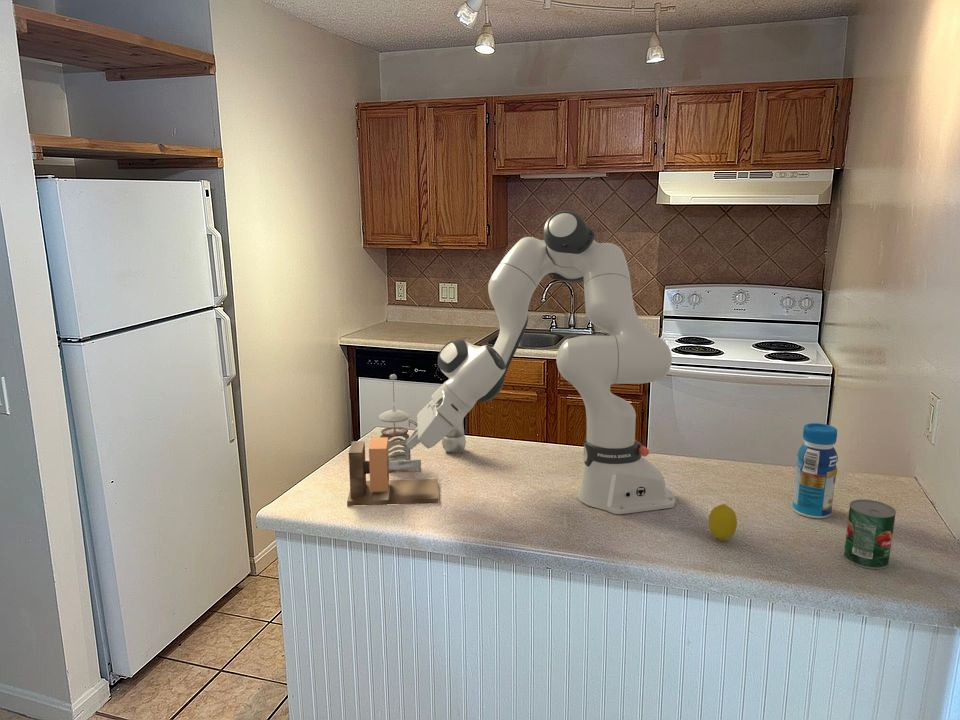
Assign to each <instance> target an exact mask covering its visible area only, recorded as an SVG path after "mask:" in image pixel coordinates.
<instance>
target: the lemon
mask: <svg viewBox="0 0 960 720" xmlns="http://www.w3.org/2000/svg"><path fill="white" fill-rule="evenodd" d="M737 526H738V519H737V514H736V513H735V510H734V509H733V508H732V507H730V506H728V505H727V504H724V503H721V504H720V505H717V506H715V507H713V508H712V510H711V511H710V514H709V517H708V528H709V531H710V533H711V534H712V536H714V537H715V538H717V539H718V540H719V541H725V540H727V539H730V538H731V537H733V536H734V535H735V532H736V530H737Z"/></svg>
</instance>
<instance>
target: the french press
mask: <svg viewBox="0 0 960 720" xmlns="http://www.w3.org/2000/svg"><path fill="white" fill-rule="evenodd" d="M397 379H398V377H397V375H396V374H395V373H393V374H390V375H389V380H392V390H393V391H392V393H393V395H392V396H393V401H395V380H397ZM395 408H396V407H393V409H389V410H386V411H384V412H382V413H380V414H379V416H378V419H379V420H380V421H381V422H385V423H392V424H393V426H390V427H389V426H388V427H385V428H382V430H381V431H380V433H381V435H380V436H379V438H381V437H388V451H389V460H412V458H411V449H409V448H408V447H407V445H406V441H407V439H408V438H409V437H410V434H409V433H408V432H409V429H408V428H406V427H403V426H402V427H401V426H396V423H403V422H405V421H407V420H408V427H411V426H410V424H413V425H414V426H415V427H417V421H415V420H412V419H409V418H410V417H411V416H410V413H408V412H406V411H403V410H401V409H395ZM394 437H396V438H394ZM401 437H402V438H401ZM395 446H396V447H395ZM391 448H392V449H391ZM399 450H400V451H399Z"/></svg>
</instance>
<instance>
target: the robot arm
mask: <svg viewBox="0 0 960 720" xmlns="http://www.w3.org/2000/svg"><path fill="white" fill-rule="evenodd" d="M595 236H596V235H595V232H594V231H593V230H592V229H591V228H590V226H589V225H588V224H587V222H586V221H585V220H584V219H583V217H581V216H580V215H579V214H578V213H576V212H575V211H573V210H572V211H571V210H560V211H558V212H555V213H554V214H552V215H550V217H548V219H547V220H546V222H545V224H544V227H543V239H538V238H536V237H534V236H525V237H522V238H521V239H519V240H517V242H516V243H515V244H514V246H512V247H511V248H510V249H509V251H507V253H506V254H505V255H504V257H503V258H502V259H501V261H500V263H499V264H498V265H497V267H496V268H495V270H494V271H493V273H492V274H491V277H490V279H489V281H488V286H487V290H488V297H489V300H490V302H491V304H492V306H493V308H494V311H495V313H496V316H497V319H498V323H499V333H498V337H497V339H496V341H495V343H494V345H493V347H492V346H490V345H488V344H483V345H481V346H480V345H476V344H472V343H470V342H468V341H467V340H464V339H461V338H459V339H454V340H450V341H449V342H448V343H446V344H445V345H444V346H443V347H442V348H440V349H441V350H440V351H439V353H438V355H437V367H438V369H440V372H441V373H442V374H444V376H446V377H447V378H448V379H447V380H445V381H444V382H443V383H442V384H441V385H440V386H439V387H438V388H437V390H435V392H434V393H432V395H431V396H430V397H431V400H430V401H429V402H428V403H426V405H425V406H423V408H422V409H421V410H420V411H418V413H417V415H416V420H417V421H416V423H417V426H416V428H415V429H414V430H413V431H412V432H411V435H409V438H408V439H407V441H406V445H407V447H408V448H409V449H410V450H413V449H414V448H416V446H417V445H419V444H421V445H423V446H424V447H425V448H427V449H432V448H433V447H434V446H436V445H437V444H438V443H439V442H440V441H442V439H443V438H444V437H445V436H446V435H447V434H448V433H449V432H450V431H451V430H452V429H453V426H454V427H455V428H457V427H459V426H460V425H461V423H462V422H463V423H464V418H465V417H466V416H467V414H468V413H469V412H470V411H471V410H472V409H473V408H474V406H475V404H476V403H486V402H490V401H492V400H493V399H495V398H496V397H497V396H498V395H499V394H500V392H501V391H502V388H503V385H504V383H505V379H506V376H507V375H506V374H507V372H508V370H509V367H510V365H511V363H512V360H513V358H514V356H515V354H516V351H517V349H518V347H519V345H520V343H521V340H522V338H523V336H524V334H525V331H526V328H527V327H528V322H529V306H530V302H531V299H532V297H533V294H534V292H535V291H536V289H537V287H539V286H538V285H539V284H540V283H541V281H542V280H543V278H544V277H545V276H547V275H548V276H549V277H550V278H551V279H552V280H555V281H561V282H564V283H568V284H574V285H576V284H582V283H583V292H584V293H583V294H584V308H585V315H586V317H587V319H588V320H589V322H590V323H591V324H592V325H593V326H595V327H596V328H597V329H598V328H599V329H600V330H603V331H605V332H606V333H607V334H608V335H595V334H594V335H590V334H589V335H585V334H584V335H582V336H581V335H579V336H575V337H571V338H566V339H565V340H564V341H563V342H562V343H561V345H560V346H559V347H558V350H557V353H556V367H557V371H558V372H559V374H560V375H561V376H562V378H563V379H564V380H566V381H567V382H568V383H569V384H571V386H573V387H574V388H575V390H576V391H577V392H578V393H579V395H580V397H581V399H582V401H583V403H584V407H585V414H586V415H585V417H586V437H585V439H584V442H583V453H582V454H583V457H582V459H583V463H584V465H583V472H582V477H581V482H580V486H579V490H578V491H577V494H576V495H577V498H578V499H579V500H580V502H582V503H583V504H585V505H587V506H590V507H593V508H596V509H600V510H604V511H607V512H609V513H611V514H614V515H624V514H631V513H632V514H633V513H638V512H639V513H641V512H647V511H656V510H663V509H664V510H665V509H671V508H672V509H673V508H674V507H675V506H676V496H675V495H674V493H673V492H672V490H670V488H668V487H667V486H666V481H665V478H664V475H663V473H662V472H661V471H660V469H658V467H656V466H655V465H654V464H653V463H652V462H650V461H649V460H648V459H646V457H648V455H650V450H649V449H648V448H647V447H646V445H643V444H642V443H641V442H639V441H638V440H636V435H635V434H636V423H637V422H636V420H637V419H636V418H637V413H636V410H635V408H634V406H633V404H631V403H630V402H628V401H627V400H625V399H624V398H622V397H620V396H617V395H615V394H614V393H612V392H611V386H612V385H614V384H616V385H617V384H618V385H619V384H620V385H621V384H622V385H623V384H631V385H632V384H639V385H643V384H648V383H654V382H657V381H662V380H663V379H665V378H666V376H667V375H668V374H669V372H670V370H671V367H672V364H673V360H672V359H673V357H672V356H673V355H672V351H671V349H670V347H669V345H668V344H667V342H666V341H665V340H664V339H663V338H661V337H659V336H657V335H656V334H654V333H653V332H652V331H650V330H649V328H648V327H646V326H645V324H644V323H643V322H642V321H641V319H640V318H639V315H638V314H637V311H636V308H635V302H634V298H633V292H632V283H631V276H630V269H629V266H628V265H629V264H628V262H627V260H626V256H625V254H624V251H623V249H622V248H621V247H619V246H618V245H616V244H614V243H612V242H597V240H595Z"/></svg>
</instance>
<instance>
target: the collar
mask: <svg viewBox="0 0 960 720" xmlns="http://www.w3.org/2000/svg"><path fill="white" fill-rule="evenodd" d="M388 441H389V440H388V437H381V438H380V437H370V442H369V446H368V459H369V460H368V461H369V467H370V474H369V481H370V492H381V491H388V485H389V480H390V473H388V468H387V461H388V460H389V455H390V453H389V451H390V450H389V449H388Z"/></svg>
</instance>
